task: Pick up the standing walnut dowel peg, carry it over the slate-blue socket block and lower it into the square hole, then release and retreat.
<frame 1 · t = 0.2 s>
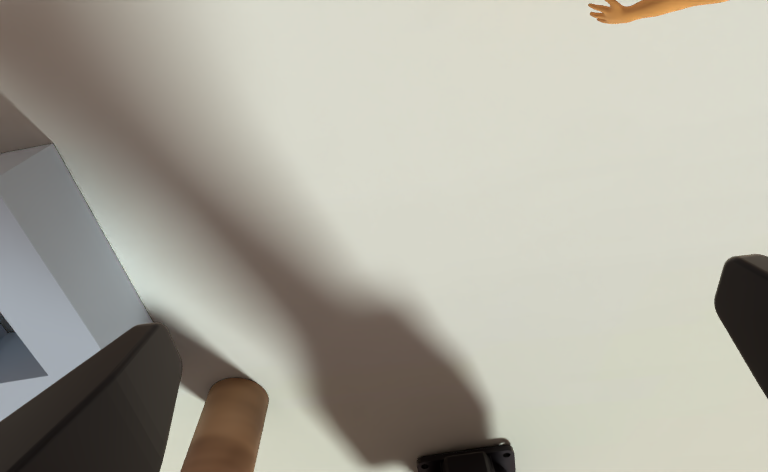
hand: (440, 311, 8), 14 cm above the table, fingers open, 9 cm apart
peg: (238, 398, 29), on the table
socket block: (24, 291, 25), on the table
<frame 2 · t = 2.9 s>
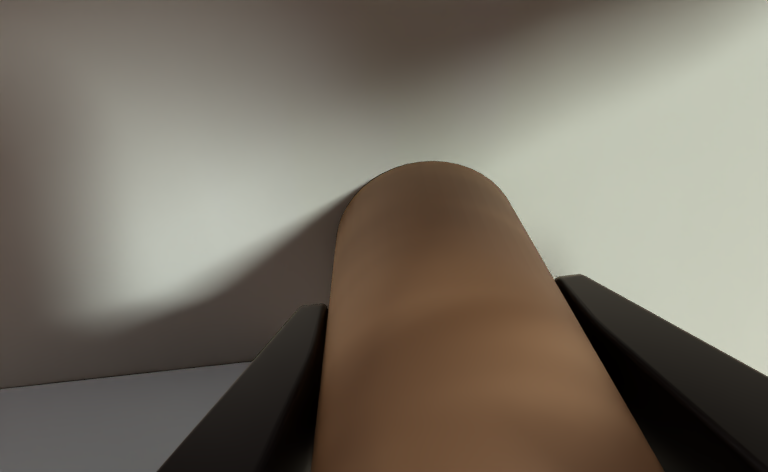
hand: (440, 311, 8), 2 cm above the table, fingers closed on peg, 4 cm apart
peg: (426, 246, 10), on the table, touching gripper
when the fingers open (4 cm above the table, at t = 6.4 s): peg drops 2 cm, resting in socket block.
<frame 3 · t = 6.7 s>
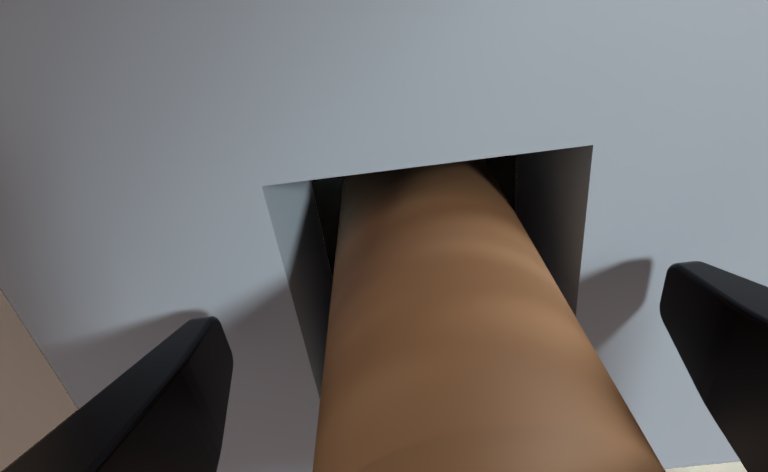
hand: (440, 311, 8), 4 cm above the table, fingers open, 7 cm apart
peg: (416, 196, 12), resting in socket block
socket block: (415, 196, 12), on the table
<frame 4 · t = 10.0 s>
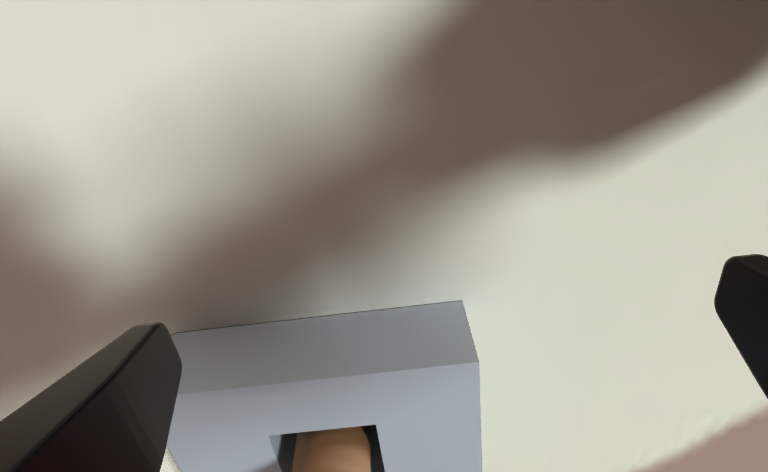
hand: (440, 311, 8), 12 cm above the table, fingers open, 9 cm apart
peg: (336, 395, 26), resting in socket block
socket block: (336, 395, 26), on the table
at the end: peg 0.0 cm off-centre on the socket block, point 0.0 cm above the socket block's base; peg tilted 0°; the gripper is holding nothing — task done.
